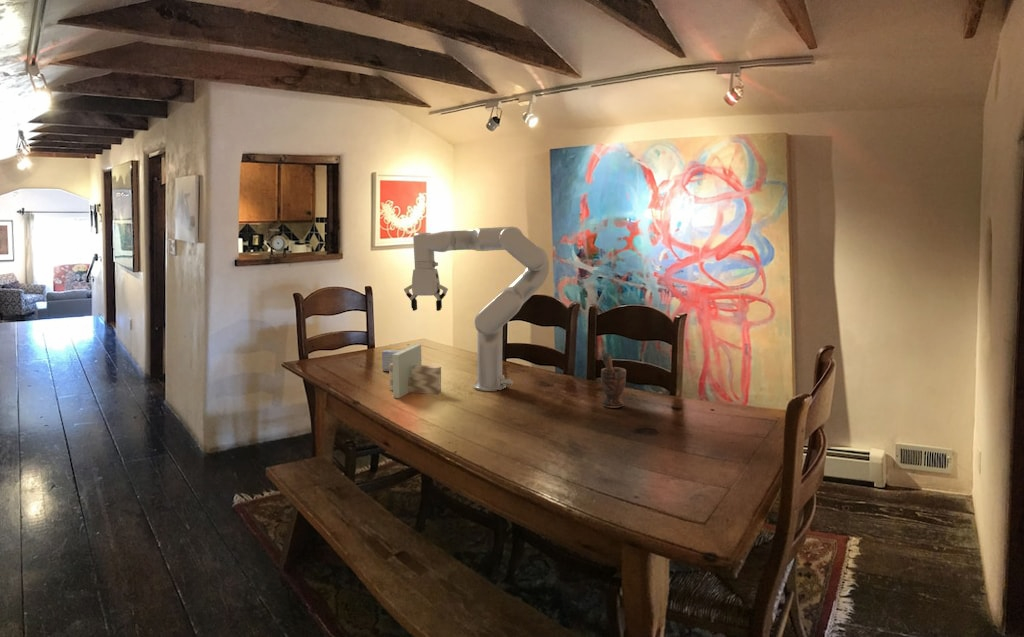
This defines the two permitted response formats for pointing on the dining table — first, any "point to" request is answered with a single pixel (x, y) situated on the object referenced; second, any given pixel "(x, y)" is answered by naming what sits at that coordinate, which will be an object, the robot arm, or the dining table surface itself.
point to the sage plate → (404, 368)
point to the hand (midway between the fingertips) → (426, 310)
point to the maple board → (421, 379)
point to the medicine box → (387, 358)
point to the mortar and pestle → (612, 382)
